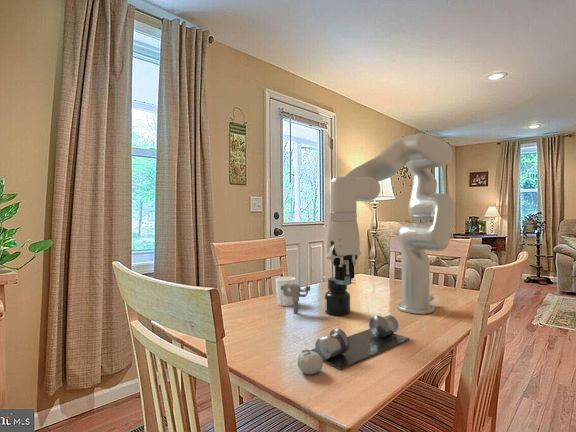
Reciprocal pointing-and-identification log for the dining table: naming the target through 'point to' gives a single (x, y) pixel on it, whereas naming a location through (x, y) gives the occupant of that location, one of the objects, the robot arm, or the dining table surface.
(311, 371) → the garlic
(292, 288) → the mechanical component
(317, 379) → the dining table surface
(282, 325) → the dining table surface
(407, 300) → the robot arm
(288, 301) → the white cup
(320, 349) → the plate with silver knobs
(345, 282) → the push button
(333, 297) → the ink bottle
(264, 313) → the dining table surface
